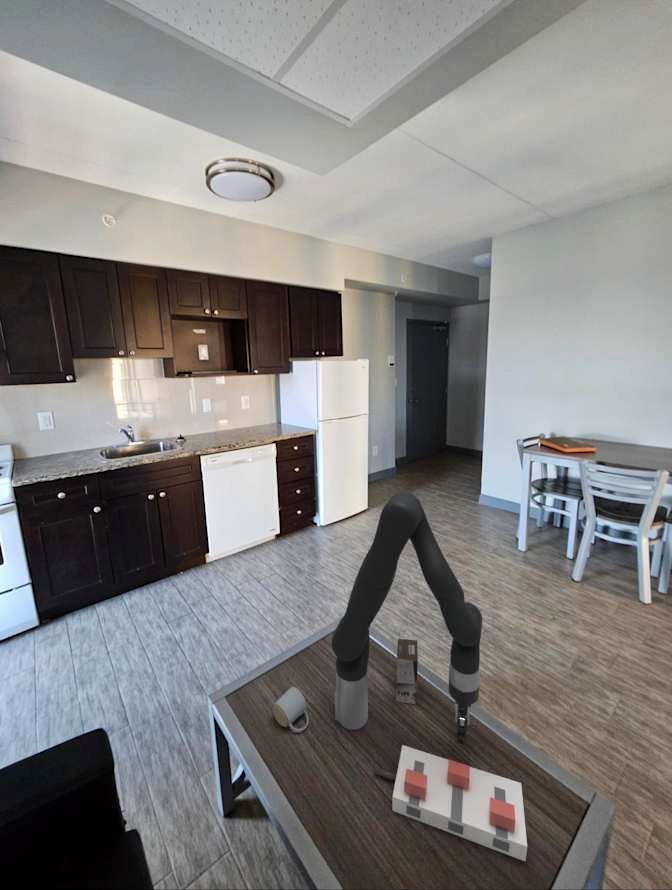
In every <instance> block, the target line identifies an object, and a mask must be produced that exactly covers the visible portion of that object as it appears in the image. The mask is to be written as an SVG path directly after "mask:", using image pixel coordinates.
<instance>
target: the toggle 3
mask: <svg viewBox="0 0 672 890" xmlns="http://www.w3.org/2000/svg"><path fill="white" fill-rule="evenodd" d="M489 823H490V824H493V825H496V826H499V827H501V828H504V829H507V830H510V831H512V832H514V828H515V808H514V805H512V804H509V803H506V802H503V801H501V800H498V799H495V798H492V797H490V804H489Z"/></svg>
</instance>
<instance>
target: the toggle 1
mask: <svg viewBox="0 0 672 890" xmlns="http://www.w3.org/2000/svg"><path fill="white" fill-rule="evenodd" d="M426 791H427V775H424V774H421V773H418V772H415V771H412V770H409V769H406V775H405V780H404V792H405V793H407V794H410V795H413V796H416V797H418V798H421V799H424V800H425V799H426Z"/></svg>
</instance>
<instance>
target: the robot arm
mask: <svg viewBox="0 0 672 890" xmlns="http://www.w3.org/2000/svg"><path fill="white" fill-rule="evenodd" d="M376 527H377V528H376V531H375V535H374V538H373V542H372V543H371V546H370V548H369V549H368V551H367V553H366V555H365V557H364V559H363V560H362V563H361V565H360V567H359V569H358V573H357V575H356V577H355V579H354V583H353V585H352V589H351V592H350V595H349V599H348V602H347V607H346V610H345V612H344V616H342V618H341V619H340V620H339V622H338V624H337V625H336V628H335V630H334V632H333V634H332V637H331V648H332V652H333V653H334V655H335V657H336V659H335V673H336V674H335V675H336V676H335V680H336V690H335V692H334V696H333V697H334V718H335V721H337V722H338V723H340V725H341V726H342V727H343V728H344V729H347V730H350V731H351V730H352V731H355V730H359V729H362V728H363V727H364V726H365V725H366V724H367V722H368V719H369V716H368V715H369V708H368V707H369V706H368V705H369V704H368V703H369V700H368V698H369V697H368V695H369V694H368V693H369V692H368V689H369V688H368V687H369V686H368V683H369V682H368V663H369V659H370V658H369V657H370V627H371V625H372V623H373V621H374V620H375V618H376V617H377V615H378V613H379V611H380V610H381V607H382V606H383V604H384V602H385V600H386V598H387V596H388V595H389V592H390V589H391V587H392V585H393V582H394V580H395V576H396V573H397V570H398V569H397V568H398V564H399V558H400V556H401V554H402V552H403V550H405V549H404V548H405V547H406V545H407V543H408V542H409V541H410V542H411V545H412V546H413V549H414V551H415V554H416V557H417V560H418V563H419V566H420V571H421V573H422V575H423V578H424V580H425V583H426V584H427V586H428V588H429V589H430V592H431V593H432V595H433V596H434V598H435V600H436V601H437V603H438V605H439V609H440V612H441V615H442V617H443V621H444V624H445V626H446V629H447V631H448V632H449V635H450V636H451V637H452V642H451V646H450V659H449V660H450V661H449V666H448V693H449V695H450V697H451V698H452V699H453V700H454V709H455V719H454V721H455V722H456V731H455V732H456V733H455V736H456V743H457V744H458V745H461V746H466V745H467V739H468V726H470V716H471V711H472V705H474V704H475V703H476V702H478V700H479V697H480V679H481V672H480V663H481V662H480V660H481V656H480V655H481V654H480V653H481V652H480V650H481V649H480V644H481V637H482V628H483V627H482V626H483V615H482V613H481V610H480V609H479V608H478V607H477V606H476V605H475V604H473V603H471V602H468V601H466V600H465V592H464V589H463V588H462V585H461V584H460V582H459V580H458V578H457V576H456V575H455V573H454V571H453V570H452V568H451V566H450V564H449V563H448V561H447V559H446V558H445V556H444V554H443V552H442V550H441V548H440V545H439V544H438V541H437V539H436V537H435V535H434V533H433V530H432V528H431V526H430V523H429V521H428V518H427V516H426V513H425V510H424V507H423V505H422V503H421V501H420V499H419V498H417V496H416V495H414V494H413V493H411V492H408V491H399V492H397V493H395V494H393V495H392V496H391V497H390V498H389V500H388V501H387V502H386V504H385V505H384V506H383V507H382V509H381V512H380V515H379V520H378V523H377V526H376Z"/></svg>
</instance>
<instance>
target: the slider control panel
mask: <svg viewBox="0 0 672 890" xmlns="http://www.w3.org/2000/svg"><path fill="white" fill-rule="evenodd" d="M448 760H449V759H447V758H444V757H440V756H438V755H435V754H432V753H428V752H425V751H422V750H419V749H416V748H413V747H410V746H406V745H404V744H402V745H401V751H400V755H399V761H398V766H397V767H398V768H397V772H396V774H395V773H392V772H391V771H386V770H384V769H382V768H378V767H376V766H375V767H374V771H373V772H374V774H376V775H377V776H381V777H384V778H388V779H389V780H393V781H395V782H394V787H393V793H392V806H391V808H392V812H394V813H397V814H399V815H403V816H406V817H408V818H410V819H413V820H416V821H417V822H421V823H424V824H426V825H427V826H432V827H434V828H436V829H439V830H442V831H445V832H446V833H449V834H452V835H455V836H457V837H460V838H463V839H465V840H468V841H471V842H474V843H476V844H479V845H481V846H483V847H486V848H489V849H491V850H494V851H496V852H499V853H502V854H505V855H507V856H509V857H512V858H515V859H517V860H520V861H521V862H522V861H523V862H526V861H527V853H528V852H527V851H528V840H527V839H528V838H527V830H526V819H525V818H526V817H525V809H524V799H523V797H524V796H523V788H522V783H521V782H519V781H515V780H512V779H510V778H506V777H503V776H501V775H498V774H497V775H496V774H495V773H494V774H493V773H491V772H487V771H485V770H481V769H478V768H475V767H471V766H470V779H469V790H468V789H465V788H462V787H459V786H456V785H453V784H450V783H447V775H448ZM406 769H409V770H412V771H415V772H418V773H421V774H424V775H427V791H426V799H425V800H424V799H421V798H418V797H416V796H413V795H410V794H407V793H405V792H404V780H405V775H406ZM490 797H492V798H495V799H498V800H501V801H503V802H506V803H509V804H512V805H514V808H515V828H514V832H512V831H510V830H507V829H504V828H501V827H499V826H496V825H493V824H490V823H489V804H490Z"/></svg>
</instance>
